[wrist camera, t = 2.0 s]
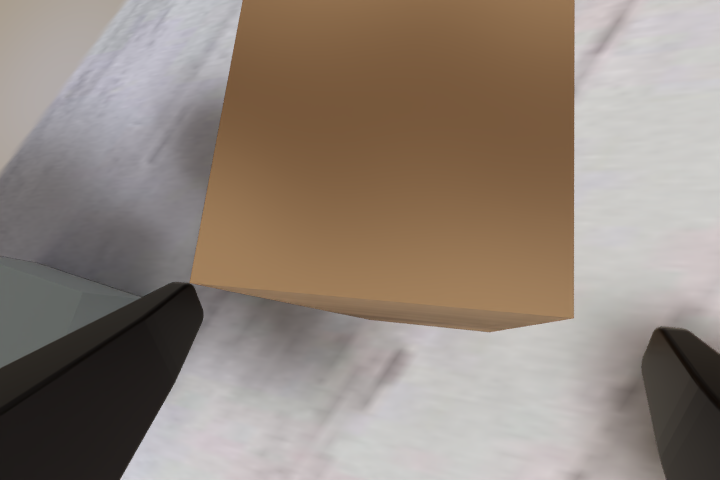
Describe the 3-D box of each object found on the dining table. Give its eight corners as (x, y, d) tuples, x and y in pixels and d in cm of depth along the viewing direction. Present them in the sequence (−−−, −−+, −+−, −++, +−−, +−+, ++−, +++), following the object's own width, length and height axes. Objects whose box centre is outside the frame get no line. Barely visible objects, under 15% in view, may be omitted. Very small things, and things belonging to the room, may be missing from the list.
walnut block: (489, 332, 17) (574, 318, 5) (370, 319, 18) (189, 282, 6) (494, 214, 18) (574, -50, 6) (381, 209, 19) (246, -17, 7)
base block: (91, 466, 20) (4, 497, 16) (-27, 409, 22) (-128, 424, 18) (151, 300, 21) (83, 292, 17) (34, 262, 23) (-49, 247, 19)
